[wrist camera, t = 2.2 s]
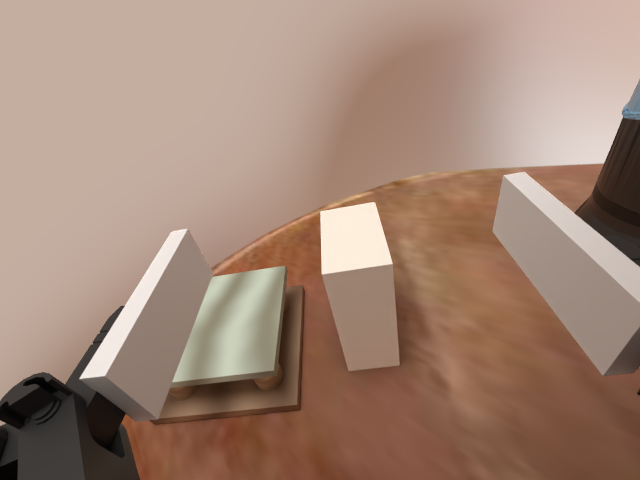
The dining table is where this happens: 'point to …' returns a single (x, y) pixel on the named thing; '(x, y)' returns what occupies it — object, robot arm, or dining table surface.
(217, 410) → the peg shelf
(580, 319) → the robot arm
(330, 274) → the cream rectangular block
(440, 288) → the dining table surface
